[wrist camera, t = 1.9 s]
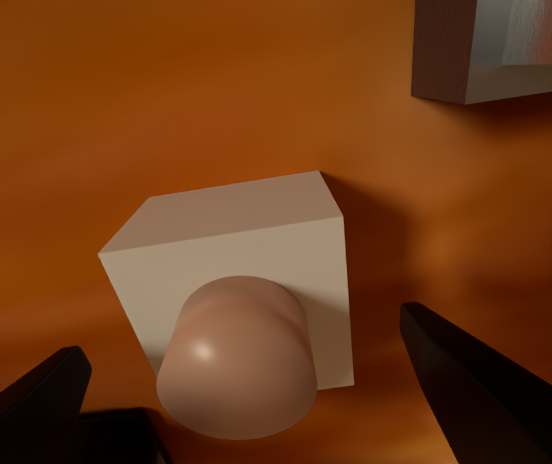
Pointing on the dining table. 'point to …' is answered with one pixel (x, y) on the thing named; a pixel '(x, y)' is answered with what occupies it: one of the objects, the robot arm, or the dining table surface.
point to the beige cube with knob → (238, 301)
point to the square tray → (481, 49)
